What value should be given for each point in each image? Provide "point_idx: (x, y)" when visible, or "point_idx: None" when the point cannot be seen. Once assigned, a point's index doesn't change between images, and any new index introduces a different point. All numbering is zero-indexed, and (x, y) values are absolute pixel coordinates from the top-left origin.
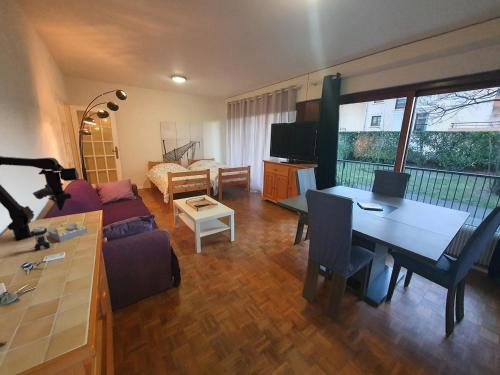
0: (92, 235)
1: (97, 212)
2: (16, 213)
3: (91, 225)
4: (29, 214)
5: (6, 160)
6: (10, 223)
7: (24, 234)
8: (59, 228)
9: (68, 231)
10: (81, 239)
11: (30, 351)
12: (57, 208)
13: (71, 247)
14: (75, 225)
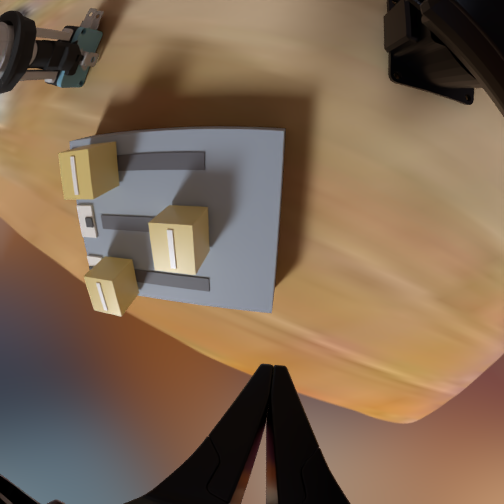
0: (70, 261)
1: (402, 419)
2: None
3: (227, 340)
4: (492, 43)
5: None
6: None
7: (392, 23)
8: (72, 172)
9: (111, 209)
10: (57, 212)
11: None
12: (294, 388)
13: (16, 154)
14: (112, 270)
